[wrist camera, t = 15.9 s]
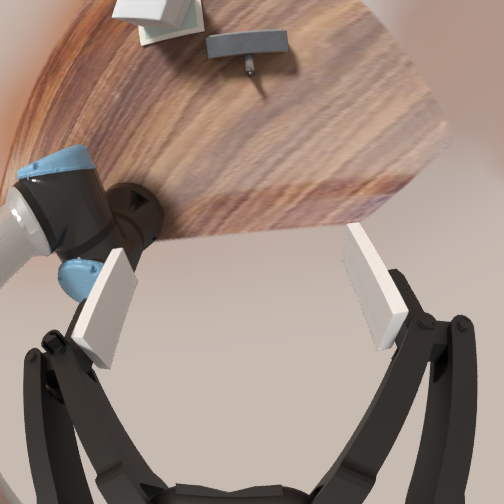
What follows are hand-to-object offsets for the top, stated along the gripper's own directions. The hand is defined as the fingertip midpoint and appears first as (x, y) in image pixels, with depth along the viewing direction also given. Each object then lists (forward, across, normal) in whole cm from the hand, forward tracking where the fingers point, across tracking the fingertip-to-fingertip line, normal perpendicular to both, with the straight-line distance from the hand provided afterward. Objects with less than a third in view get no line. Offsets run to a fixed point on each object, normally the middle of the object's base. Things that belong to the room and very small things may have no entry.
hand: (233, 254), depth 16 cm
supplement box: (+36, -9, +24) cm, 44 cm away
